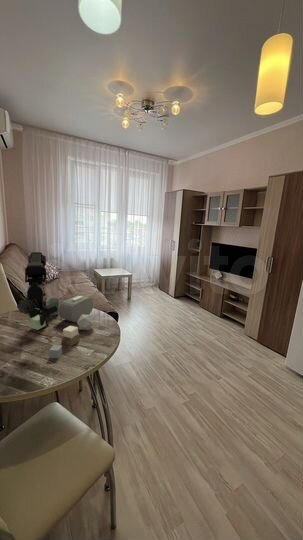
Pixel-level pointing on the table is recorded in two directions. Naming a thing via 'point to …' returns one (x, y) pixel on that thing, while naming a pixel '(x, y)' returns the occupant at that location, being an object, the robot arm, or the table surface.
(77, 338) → the tower base
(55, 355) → the slate cube
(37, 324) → the sage cube
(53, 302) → the cup
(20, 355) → the table surface
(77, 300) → the alarm clock
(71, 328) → the tower top
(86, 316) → the die
